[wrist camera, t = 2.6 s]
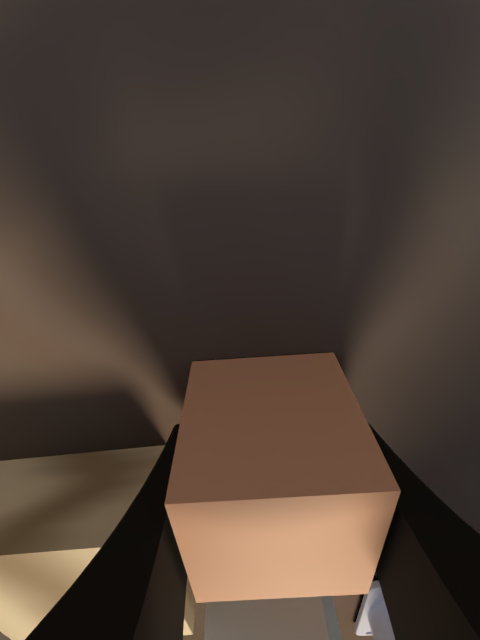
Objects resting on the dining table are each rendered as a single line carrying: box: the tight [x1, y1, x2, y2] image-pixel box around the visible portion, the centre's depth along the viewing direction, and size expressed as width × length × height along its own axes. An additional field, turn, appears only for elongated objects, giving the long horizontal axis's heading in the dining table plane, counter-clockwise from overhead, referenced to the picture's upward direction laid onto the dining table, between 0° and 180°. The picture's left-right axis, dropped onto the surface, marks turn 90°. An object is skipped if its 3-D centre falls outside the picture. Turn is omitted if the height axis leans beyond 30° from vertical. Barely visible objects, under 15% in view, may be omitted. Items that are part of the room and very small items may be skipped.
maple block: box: [0, 445, 196, 640], centre depth 14 cm, size 8×8×4 cm
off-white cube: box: [204, 596, 342, 640], centre depth 15 cm, size 5×5×5 cm
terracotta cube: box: [164, 352, 401, 603], centre depth 10 cm, size 5×5×5 cm
